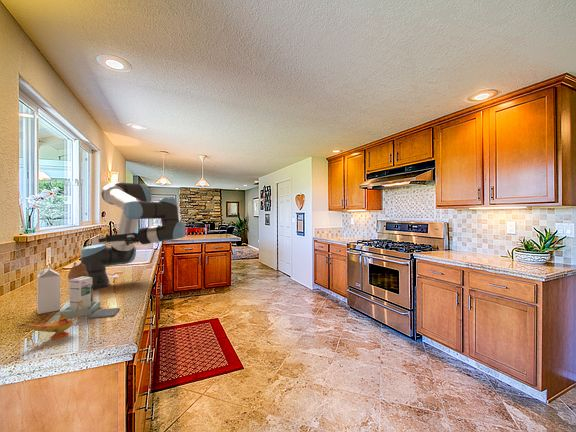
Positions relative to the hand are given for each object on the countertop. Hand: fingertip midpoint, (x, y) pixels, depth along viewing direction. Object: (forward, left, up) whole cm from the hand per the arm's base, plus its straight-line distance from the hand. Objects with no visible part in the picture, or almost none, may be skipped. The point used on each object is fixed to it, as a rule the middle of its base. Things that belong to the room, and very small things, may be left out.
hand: (102, 242), depth 124 cm
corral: (+7, -6, -29) cm, 30 cm away
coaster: (+12, +4, -29) cm, 31 cm away
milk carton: (+1, -20, -29) cm, 35 cm away
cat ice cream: (-13, -14, -29) cm, 35 cm away
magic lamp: (+32, -5, -29) cm, 43 cm away
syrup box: (+7, -6, -29) cm, 30 cm away
